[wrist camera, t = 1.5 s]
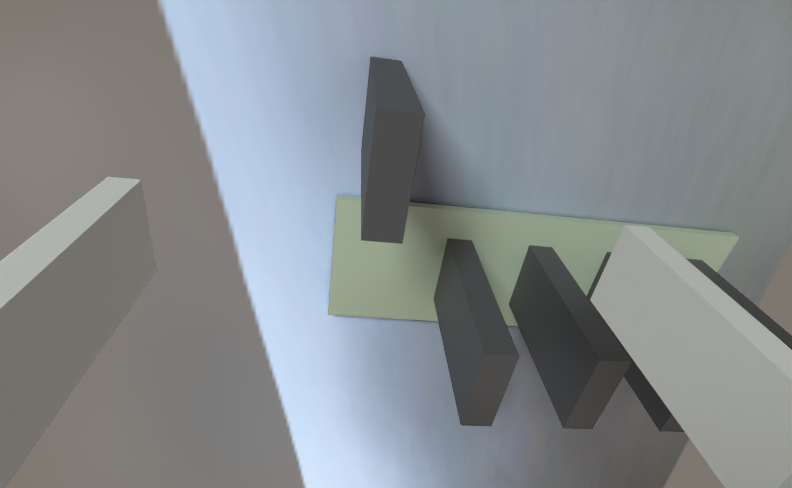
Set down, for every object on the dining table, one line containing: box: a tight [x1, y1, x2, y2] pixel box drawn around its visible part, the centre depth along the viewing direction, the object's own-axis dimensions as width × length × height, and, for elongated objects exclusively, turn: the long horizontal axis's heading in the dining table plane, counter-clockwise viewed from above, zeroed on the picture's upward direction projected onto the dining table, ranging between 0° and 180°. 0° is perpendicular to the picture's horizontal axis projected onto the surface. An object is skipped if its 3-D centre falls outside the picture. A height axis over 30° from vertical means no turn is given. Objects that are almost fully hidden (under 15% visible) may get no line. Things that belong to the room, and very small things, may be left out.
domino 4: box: [586, 252, 685, 432], centre depth 26 cm, size 5×2×10 cm, turn 172°
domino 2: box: [434, 238, 519, 426], centre depth 25 cm, size 5×2×10 cm, turn 172°
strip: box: [328, 195, 740, 326], centre depth 30 cm, size 9×27×1 cm, turn 82°
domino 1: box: [361, 57, 425, 244], centre depth 20 cm, size 5×2×10 cm, turn 172°
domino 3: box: [509, 245, 631, 429], centre depth 26 cm, size 5×2×10 cm, turn 172°
